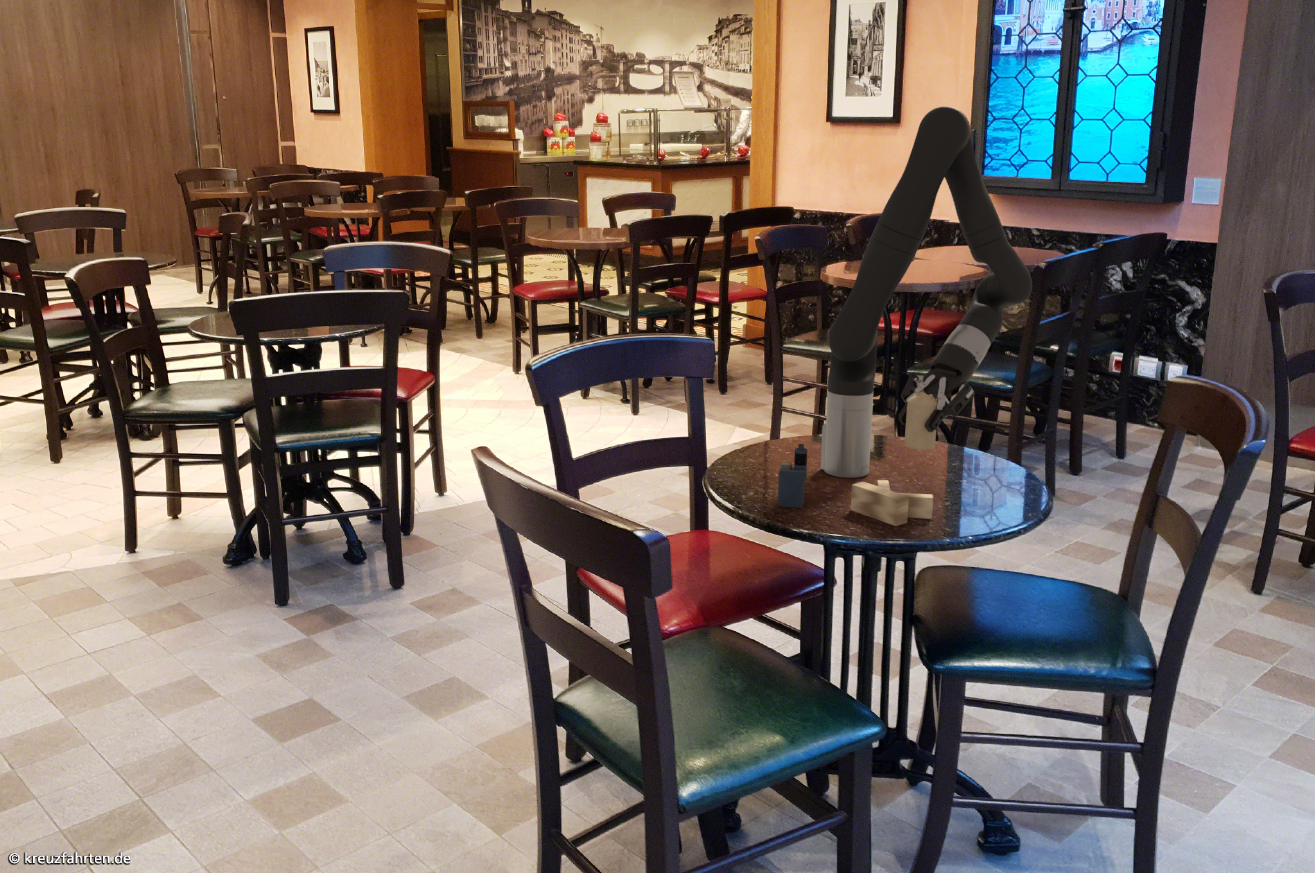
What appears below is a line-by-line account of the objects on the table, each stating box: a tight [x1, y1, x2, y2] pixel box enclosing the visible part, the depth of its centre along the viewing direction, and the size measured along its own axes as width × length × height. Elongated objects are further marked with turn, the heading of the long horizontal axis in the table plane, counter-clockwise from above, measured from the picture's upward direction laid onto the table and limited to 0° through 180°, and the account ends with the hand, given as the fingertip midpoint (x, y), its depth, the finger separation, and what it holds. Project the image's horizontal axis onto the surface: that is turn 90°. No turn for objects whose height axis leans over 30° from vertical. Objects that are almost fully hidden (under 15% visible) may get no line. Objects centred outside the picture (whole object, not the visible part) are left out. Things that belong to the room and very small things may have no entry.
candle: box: [904, 391, 938, 451], centre depth 201 cm, size 6×6×10 cm
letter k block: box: [850, 479, 934, 527], centre depth 201 cm, size 13×10×5 cm
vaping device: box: [777, 443, 808, 509], centre depth 204 cm, size 3×5×12 cm, turn 78°
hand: (914, 425), depth 200 cm, fingers closed on candle, 5 cm apart
